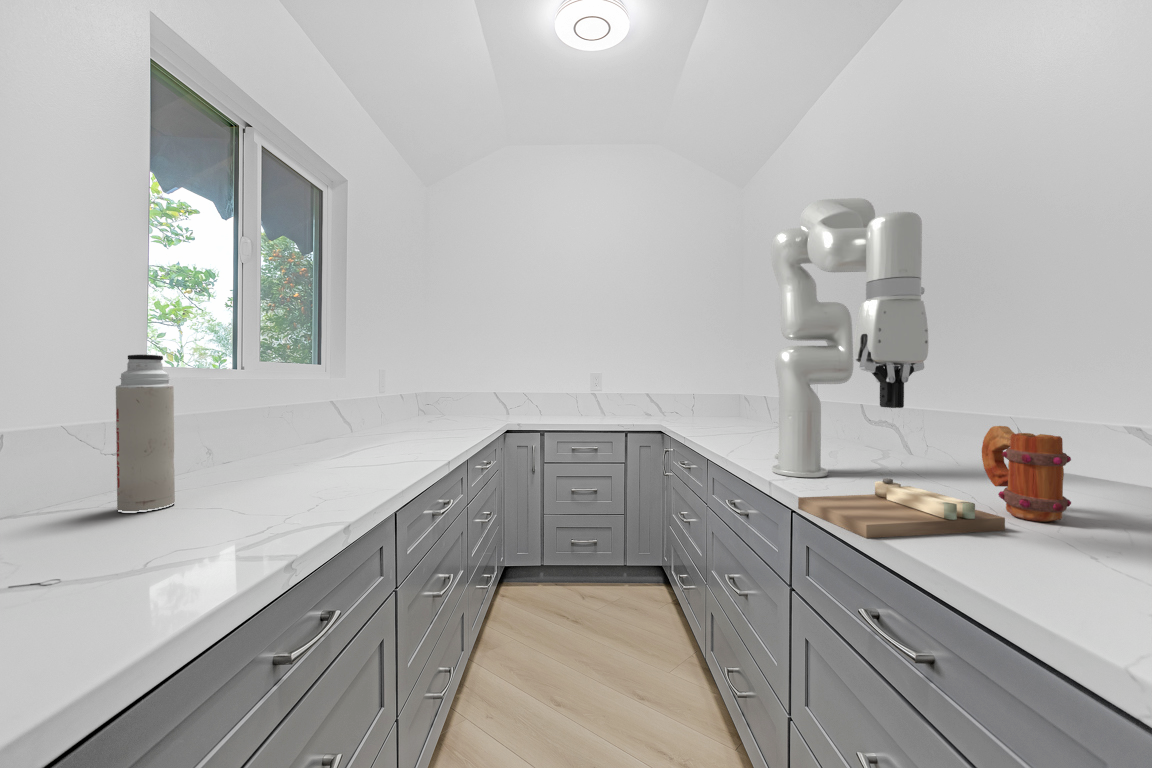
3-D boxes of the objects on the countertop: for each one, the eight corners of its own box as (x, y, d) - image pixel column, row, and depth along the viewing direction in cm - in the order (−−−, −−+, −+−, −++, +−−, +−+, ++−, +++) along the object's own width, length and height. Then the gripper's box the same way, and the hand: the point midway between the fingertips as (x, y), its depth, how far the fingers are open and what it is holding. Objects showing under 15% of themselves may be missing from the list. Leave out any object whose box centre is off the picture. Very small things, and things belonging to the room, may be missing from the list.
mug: (1086, 527, 79) (1087, 432, 79) (1034, 526, 80) (1035, 432, 79) (1008, 503, 94) (1009, 424, 94) (964, 503, 94) (965, 424, 94)
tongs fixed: (880, 494, 92) (880, 478, 92) (894, 494, 92) (895, 478, 92) (961, 519, 76) (961, 499, 76) (978, 518, 76) (978, 499, 76)
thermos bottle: (109, 516, 86) (107, 353, 85) (127, 505, 93) (125, 355, 93) (167, 510, 89) (165, 354, 89) (180, 500, 96) (178, 355, 96)
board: (798, 508, 91) (798, 497, 91) (914, 503, 94) (914, 492, 94) (866, 538, 74) (866, 524, 74) (1004, 530, 78) (1004, 517, 77)
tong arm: (868, 493, 93) (868, 481, 93) (889, 492, 93) (889, 481, 93) (949, 519, 76) (949, 505, 76) (973, 519, 76) (974, 504, 76)
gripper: (914, 297, 85) (913, 405, 85) (834, 295, 83) (833, 406, 83) (954, 290, 77) (952, 408, 78) (867, 288, 75) (866, 409, 75)
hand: (891, 407), depth 80 cm, fingers closed
